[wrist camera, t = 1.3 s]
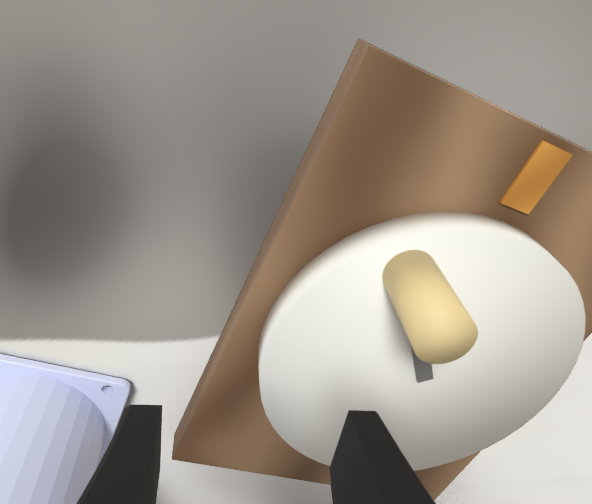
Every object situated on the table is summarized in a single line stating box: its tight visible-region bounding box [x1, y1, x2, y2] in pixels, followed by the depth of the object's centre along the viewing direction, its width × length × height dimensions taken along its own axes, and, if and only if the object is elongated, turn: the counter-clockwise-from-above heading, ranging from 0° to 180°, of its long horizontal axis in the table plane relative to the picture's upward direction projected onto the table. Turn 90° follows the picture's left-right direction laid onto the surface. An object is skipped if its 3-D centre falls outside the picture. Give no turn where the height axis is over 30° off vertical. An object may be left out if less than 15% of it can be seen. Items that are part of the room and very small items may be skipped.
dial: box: [258, 211, 585, 471], centre depth 20 cm, size 14×14×5 cm
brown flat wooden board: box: [172, 39, 592, 500], centre depth 23 cm, size 16×21×2 cm
